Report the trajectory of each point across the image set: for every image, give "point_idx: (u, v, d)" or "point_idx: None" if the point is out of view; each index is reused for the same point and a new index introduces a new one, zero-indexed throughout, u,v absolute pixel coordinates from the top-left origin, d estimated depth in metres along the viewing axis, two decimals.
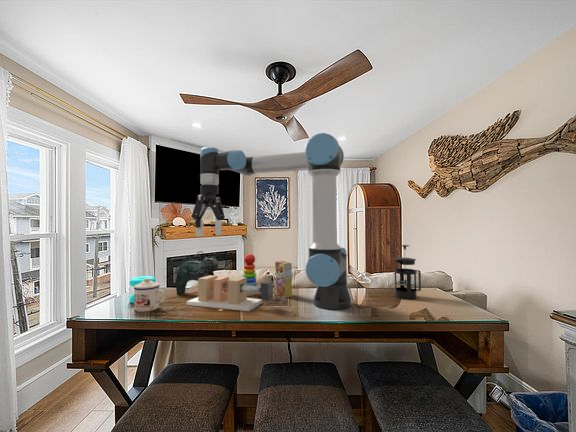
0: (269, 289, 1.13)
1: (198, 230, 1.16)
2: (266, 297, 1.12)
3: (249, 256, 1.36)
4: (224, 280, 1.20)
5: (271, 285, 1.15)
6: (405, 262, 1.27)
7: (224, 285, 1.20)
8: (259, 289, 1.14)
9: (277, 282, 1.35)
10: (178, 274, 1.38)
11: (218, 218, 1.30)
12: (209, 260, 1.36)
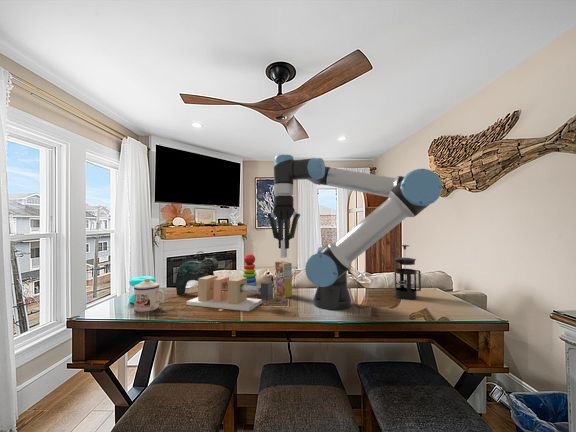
0: (269, 289, 1.13)
1: None
2: (266, 297, 1.12)
3: (249, 256, 1.36)
4: (224, 280, 1.20)
5: (271, 285, 1.15)
6: (405, 262, 1.27)
7: (224, 285, 1.20)
8: (259, 289, 1.14)
9: (277, 282, 1.35)
10: (178, 274, 1.38)
11: None
12: (209, 260, 1.36)
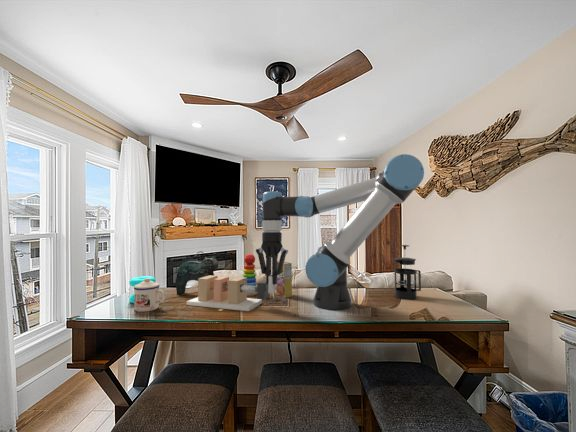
0: (266, 289, 1.14)
1: None
2: (263, 297, 1.12)
3: (249, 256, 1.36)
4: (224, 280, 1.20)
5: None
6: (405, 262, 1.27)
7: None
8: (256, 288, 1.15)
9: (277, 282, 1.35)
10: (178, 274, 1.38)
11: None
12: (209, 260, 1.36)
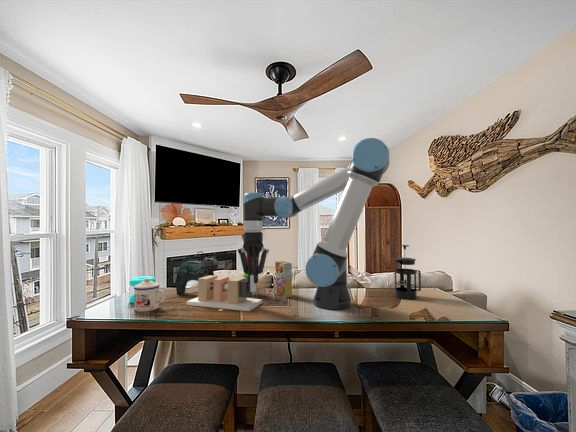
0: (248, 287, 1.16)
1: None
2: (244, 295, 1.15)
3: None
4: (224, 280, 1.20)
5: None
6: (405, 262, 1.27)
7: None
8: None
9: (277, 282, 1.35)
10: (178, 274, 1.38)
11: None
12: (209, 260, 1.36)
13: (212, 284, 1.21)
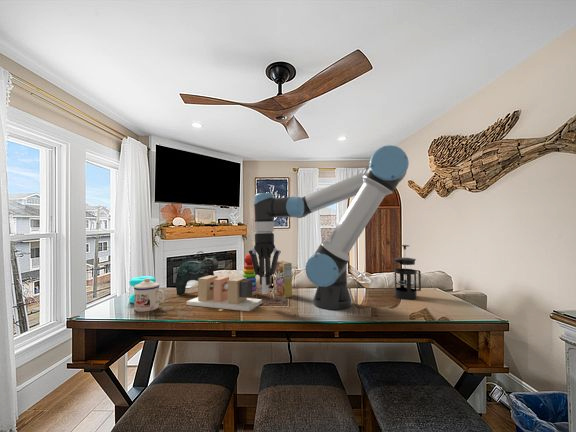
0: (248, 287, 1.16)
1: None
2: (245, 295, 1.15)
3: (249, 256, 1.36)
4: (224, 280, 1.20)
5: (250, 284, 1.18)
6: (405, 262, 1.27)
7: None
8: None
9: (277, 282, 1.35)
10: (178, 274, 1.38)
11: None
12: (209, 260, 1.36)
13: (212, 284, 1.21)
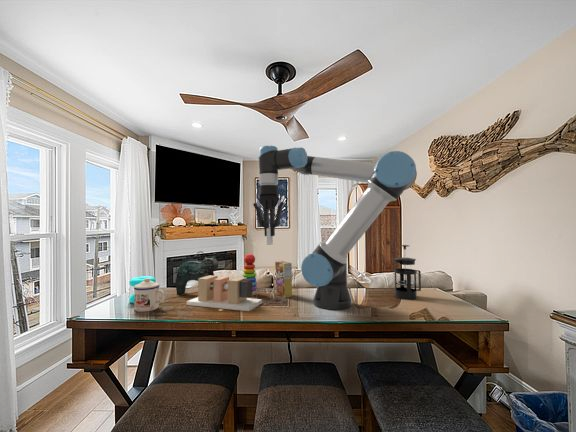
0: (248, 287, 1.16)
1: None
2: (245, 295, 1.15)
3: (249, 256, 1.36)
4: (224, 280, 1.20)
5: (250, 284, 1.18)
6: (405, 262, 1.27)
7: None
8: None
9: (277, 282, 1.35)
10: (178, 274, 1.38)
11: None
12: (209, 260, 1.36)
13: (212, 284, 1.21)
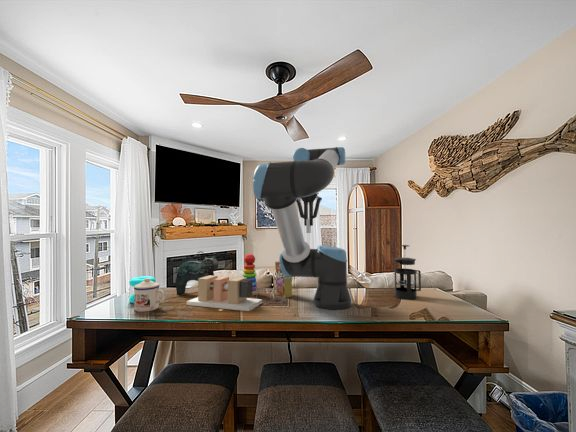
0: (248, 287, 1.16)
1: None
2: (245, 295, 1.15)
3: (249, 256, 1.36)
4: (224, 280, 1.20)
5: (250, 284, 1.18)
6: (405, 262, 1.27)
7: None
8: None
9: (277, 282, 1.35)
10: (178, 274, 1.38)
11: None
12: (209, 260, 1.36)
13: (212, 284, 1.21)
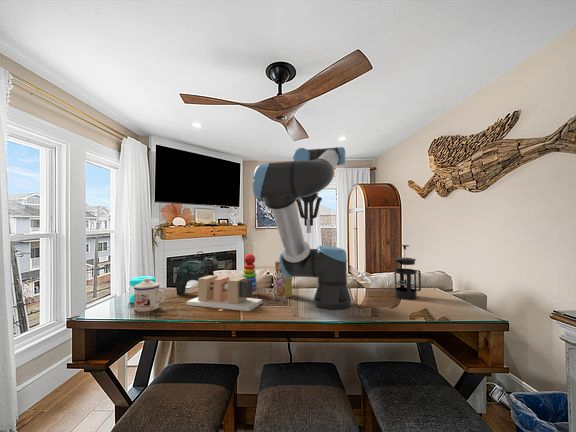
0: (248, 287, 1.16)
1: None
2: (245, 295, 1.15)
3: (249, 256, 1.36)
4: (224, 280, 1.20)
5: (250, 284, 1.18)
6: (405, 262, 1.27)
7: None
8: None
9: (277, 282, 1.35)
10: (178, 274, 1.38)
11: None
12: (209, 260, 1.36)
13: (212, 284, 1.21)
